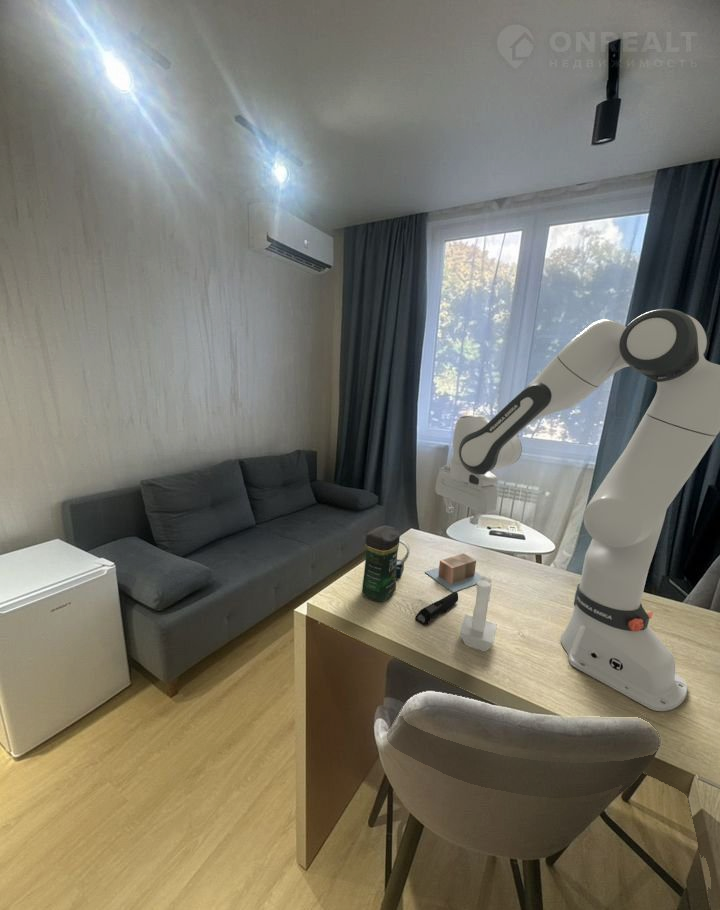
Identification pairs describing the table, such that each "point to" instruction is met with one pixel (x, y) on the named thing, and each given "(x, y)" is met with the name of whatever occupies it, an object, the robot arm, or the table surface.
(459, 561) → the walnut block
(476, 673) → the table surface
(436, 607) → the electric trimmer
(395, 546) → the coffee jar
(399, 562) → the watch
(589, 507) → the robot arm
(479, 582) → the white peg stand
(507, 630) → the table surface
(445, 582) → the slate pad
